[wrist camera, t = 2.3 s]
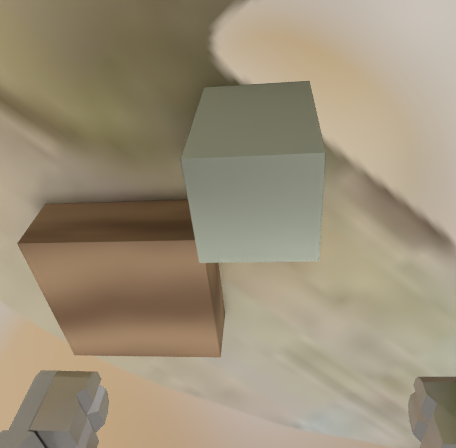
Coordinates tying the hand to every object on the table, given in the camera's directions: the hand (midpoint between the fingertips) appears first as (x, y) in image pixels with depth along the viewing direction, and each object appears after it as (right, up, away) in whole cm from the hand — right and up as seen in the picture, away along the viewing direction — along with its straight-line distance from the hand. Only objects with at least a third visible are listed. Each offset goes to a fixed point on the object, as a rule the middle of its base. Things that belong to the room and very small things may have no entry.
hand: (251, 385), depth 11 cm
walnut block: (-6, +2, +17) cm, 18 cm away
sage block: (+1, +9, +11) cm, 14 cm away
